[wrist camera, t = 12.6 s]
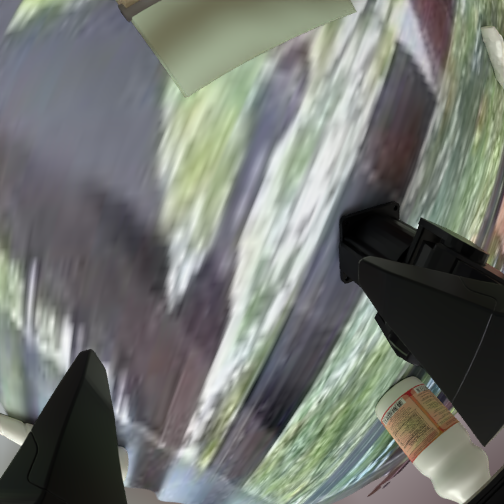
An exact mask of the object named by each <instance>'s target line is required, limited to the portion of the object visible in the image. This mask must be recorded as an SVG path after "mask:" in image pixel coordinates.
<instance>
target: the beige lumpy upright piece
mask: <svg viewBox="0 0 504 504" xmlns="http://www.w3.org/2000/svg"><path fill="white" fill-rule="evenodd" d="M481 34H482V38H483V40H482V41H484V43H485V47H486V49H487V52H488V55H489V58H490V61H491V64H492V66H493V69H494V73H495V77H496V79H497V81H498V82H499V83H500V85H501V86H502V87H503V89H504V40H503V38H502V36H501V35H500V34H499V32H498V31H497V29H496V28H495V27H494V26H484V27H481Z"/></svg>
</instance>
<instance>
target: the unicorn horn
mask: <svg viewBox="0 0 504 504" xmlns="http://www.w3.org/2000/svg"><path fill="white" fill-rule="evenodd" d="M32 427H33V425H32V424H29V423H26V424H24V423H23V422H22V421H20V420H17V419H14V418H11V417H9V416H7V415H5V414H2V413H0V434H1V435H3V436H6V437H7V438H8V439H10V440H12V441H14V442H16V443H18V444H20V445H21V446H22V444H23V442H24V441H25V439H26V437H27V436H28V434H29V432H30V431H31V429H32ZM31 432H32V431H31ZM118 452H119V459H120V466H121V472H122V478H123V482H124V480H125V478H126V475H127V471H128V453H127V451H126V449H125V448H124V447H121V446H118Z"/></svg>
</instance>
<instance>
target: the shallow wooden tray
mask: <svg viewBox="0 0 504 504" xmlns="http://www.w3.org/2000/svg"><path fill="white" fill-rule="evenodd" d="M116 2H117V3H118V4H119V5H118V7H119V9H120V11H121V13H122V14H123V16H124V17H125V18H126V20H127V21H128V22H130V21H131V22H132V23H133V25H134V26H135V27H136V29H137V30H138V31H139V33H140V34H141V36H142V37H143V38H144V40H145V41H146V43H147V44H148V45H149V47H150V48H151V49H152V51H153V52H154V54H155V55H156V56H157V58H158V59H159V61H160V62H161V64H162V65H163V66H164V68H165V69H166V71H167V72H168V73H169V75H170V76H171V78H172V79H173V81H174V82H175V83H176V85H177V86H178V88H179V89H180V91H181V92H182V93H183V95H184V96H185V98H186V97H189V96H190V95H192V94H193V93H195V92H196V91H198V90H200V89H201V88H203V87H204V86H206V85H207V84H209V83H211V82H212V81H214V80H216V79H217V78H219V77H221V76H222V75H224V74H226V73H227V72H229V71H231V70H233V69H234V68H236V67H238V66H240V65H242V64H243V63H245V62H247V61H249V60H251V59H253V58H254V57H256V56H258V55H260V54H262V53H264V52H266V51H268V50H270V49H272V48H274V47H276V46H278V45H280V44H282V43H284V42H286V41H288V40H290V39H292V38H295V37H297V36H299V35H301V34H303V33H306V32H308V31H310V30H312V29H315V28H317V27H319V26H322V25H324V24H327V23H329V22H332V21H334V20H337V19H339V18H342V17H344V16H347V15H350V14H352V13H355V12H356V10H355V8H354V6H353V5H352V3H351V1H350V0H116Z"/></svg>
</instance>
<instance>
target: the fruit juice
mask: <svg viewBox="0 0 504 504" xmlns="http://www.w3.org/2000/svg"><path fill="white" fill-rule="evenodd" d="M375 413H376V415H377V417H378V419H379V420H380V421H381V423H382V424H383V425H384V426H385V428H386V429H387V430H388V432H389V433H390V434H391V436H392V437H393V438H394V439H395V441H396V442H397V443H398V445H399V446H400V447H401V449H402V450H403V451H404V452H405V454H406V455H407V456H408V458H409V459H410V460H411V462H412V463H413V464H414V466H415V467H416V468H417V469H418V470H419V471H420V472H421V473H422V474H423V475H425V476H427V477H429V478H430V479H431V481H432V483H433V486H434V489H435V491H436V492H437V493H438V494H439V496H441V497H442V498H446V499H450V500H453V501H456V502H457V503H459V504H463V503H464V502H465V501H466V500H468V499H469V498H470V497H471V496H472V495H473V494H474V493H475V492H477V491H478V490H479V489H480V488H481V487H482V486H483V485H484V484H485V483H486V482H487V481H488V480H489V479H490V478H491V476H490V472H489V465H488V457H487V455H486V453H485V452H484V450H482V449H481V448H480V447H478V446H476V445H474V444H473V443H472V442H471V440H470V436H469V434H468V432H467V431H466V429H465V428H464V427H463V425H462V424H461V423H460V422H459V421H458V420H457V419H456V418H455V417H454V416H453V415H452V414H451V412H450V411H449V410H448V409H447V408H446V407H445V406H444V405H443V404H442V403H441V402H440V401H439V399H438V398H437V397H436V396H435V395H434V394H433V393H432V392H431V391H430V390H429V389H428V388H427V387H426V386H425V384H424V383H423V382H422V381H421V380H420V379H418V378H417V377H414V376H411V377H408V378H405V379H403V380H402V381H400V382H399V383H397V384H396V385H394V386H393V387H392V388H391V389H390V390H389V391H388V392H386V394H385V395H384V396H383V397H382V398H381V399H380V401H379V402H378V404H377V406H376V408H375Z"/></svg>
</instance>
